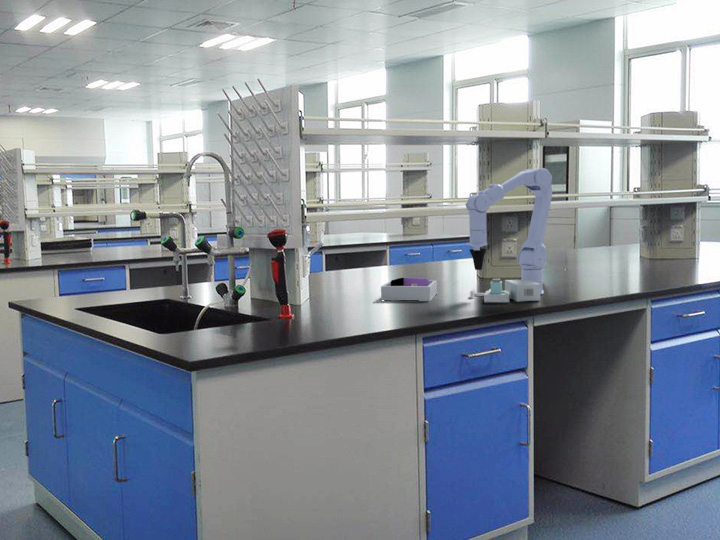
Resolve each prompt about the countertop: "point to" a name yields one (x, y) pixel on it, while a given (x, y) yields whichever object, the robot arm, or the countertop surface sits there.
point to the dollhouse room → (410, 282)
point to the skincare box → (523, 290)
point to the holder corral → (409, 292)
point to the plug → (496, 286)
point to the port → (497, 297)
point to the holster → (472, 293)
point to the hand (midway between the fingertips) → (478, 269)
